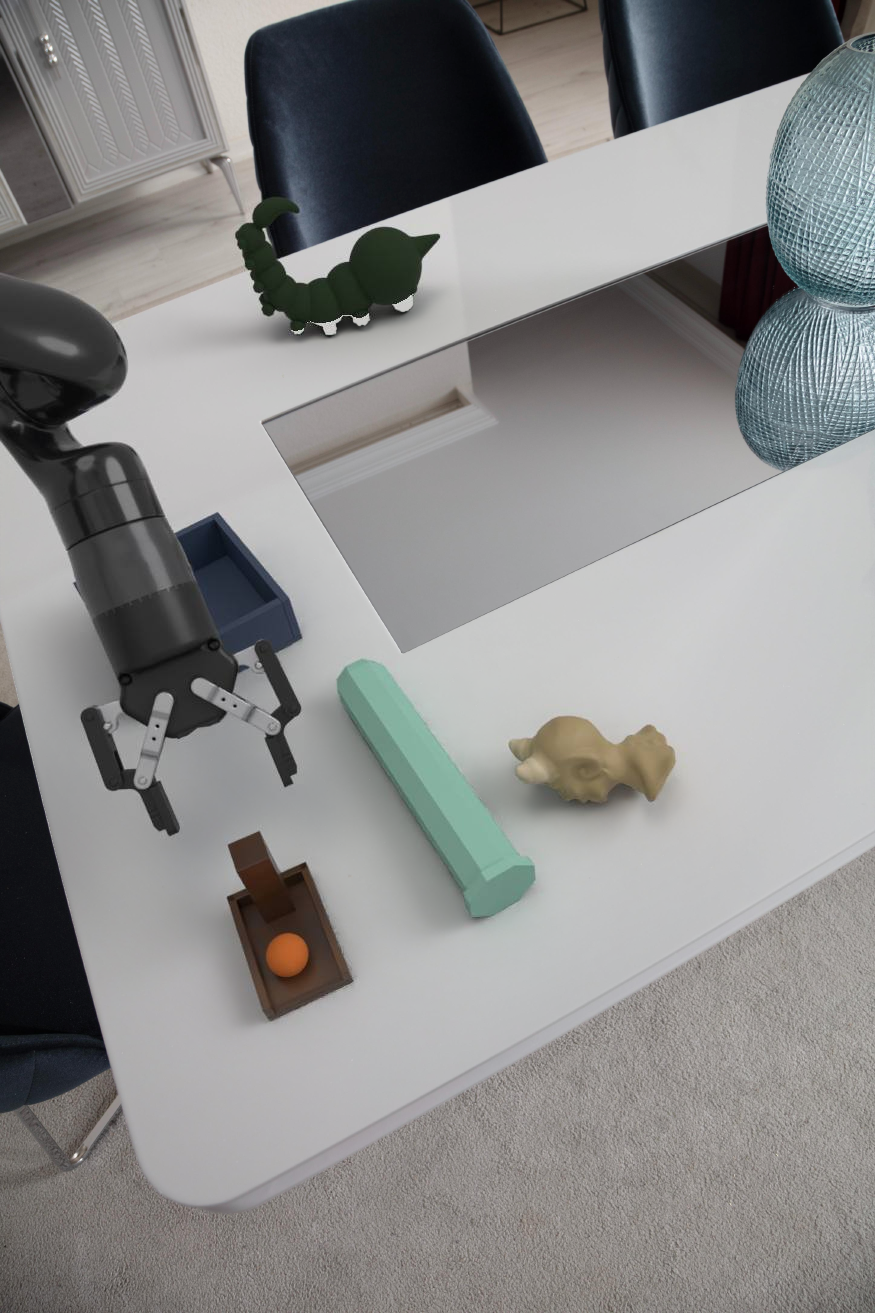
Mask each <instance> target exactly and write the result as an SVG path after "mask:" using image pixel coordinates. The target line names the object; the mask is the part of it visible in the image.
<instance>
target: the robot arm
mask: <svg viewBox="0 0 875 1313" xmlns="http://www.w3.org/2000/svg"><path fill="white" fill-rule="evenodd" d="M128 361H129V359H128V353H127V350H126V347H125V345H124V342H123V340H122V338H121V336H120V334H119V333H118V331H117V330H116V329H115V327H114V326H113V325H112V323H111V322H110V321H109V320H108V318H106V317H105V316H104V315H103V314H102V313H101V312H100V311H99V310H97V309H96V308H95V307H93V306H92V305H90V304H89V303H88V302H86V301H85V300H83V299H81V298H79V297H77V296H75V295H73V294H71V293H69V292H66V291H63V290H62V289H59V288H56V287H53V286H49V285H45V284H43V283H39V282H35V281H31V280H29V279H24V278H21V277H18V276H13V275H10V274H7V273H4V272H0V443H1V444H2V446H3V447H4V448H5V449H6V450H7V452H8V453H9V454H10V455H11V457H12V458H13V460H14V462H16V464H17V465H18V467H19V468H20V469H21V471H22V472H23V473H24V475H25V476H27V478H28V479H29V480H30V482H31V484H33V486H34V487H35V488H36V490H37V491H38V492H39V494H40V495H41V496H42V498H43V499H44V501H45V503H46V506H47V509H48V512H49V515H51V519H52V522H53V523H54V526H55V528H56V531H57V532H58V533H57V534H58V535H59V537H60V539H61V542H62V545H63V548H64V549H65V551H66V552H67V556H68V560H69V562H70V566H71V569H72V572H73V576H74V579H75V582H76V584H77V586H78V589H79V591H80V594H81V596H82V598H83V600H82V601H84V602H83V603H84V605H85V608H86V609H87V610H86V611H87V612H88V614H89V617H90V620H91V622H92V624H93V626H94V629H95V631H96V634H97V636H98V638H99V640H100V643H101V645H102V647H103V650H104V652H105V655H106V656H107V659H108V662H109V663H110V666H111V668H112V670H113V673H114V675H115V677H116V680H117V682H118V685H119V699H116V700H113V701H110V702H108V703H103V704H101V705H97V704H96V705H91V706H88V707H86V708H85V709H83V710H82V711H81V713H80V716H79V717H80V722H81V724H82V728H83V730H84V732H85V735H86V738H87V740H88V743H89V746H90V749H91V752H92V754H93V757H94V760H95V763H96V766H97V768H98V771H99V774H100V776H101V779H102V782H103V784H104V787H105V788H106V789H107V790H108V791H109V792H116V791H121V790H133V791H135V792H137V793H138V794H139V796H140V798H141V800H142V803H143V805H144V807H145V811H146V812H147V814H148V816H149V819H150V821H151V823H152V826H153V828H155V829H156V830H157V831H158V832H159V833H160V832H162V831H164V830H165V831H166V833H167V836H168V837H172V836H174V835H176V834H179V833H180V831H181V826H180V823H179V820H178V818H177V815H176V813H175V811H174V809H173V807H172V804H171V801H170V799H169V797H168V795H167V793H166V790H165V788H164V786H163V784H162V781H161V780H157V778H156V773H157V770H158V766H159V763H160V759H161V755H162V752H163V749H164V745H165V741H166V739H167V738H168V739H174V740H175V739H177V740H180V739H183V738H185V737H187V736H189V735H191V734H192V733H193V732H195V731H196V730H197V729H200V728H207V727H211V726H212V727H213V726H214V725H217V724H219V723H221V721H222V720H223V719H225V717H226V716H227V714H228V713H229V714H230V715H232V716H234V717H236V718H237V719H239V720H241V721H242V722H245V723H247V724H249V725H251V726H252V727H254V728H256V729H257V730H260V731H261V732H263V733H264V735H265V736H264V737H263V738H264V742H265V744H266V746H267V749H268V751H269V754H270V756H271V759H272V761H273V764H274V765H275V768H276V770H277V773H278V775H279V778H280V780H281V782H282V785H283V788H287V787H289V786H292V785H294V781H293V778H292V776H295V775H297V774H298V764H297V762H296V760H295V757H294V755H293V753H292V751H291V750H292V749H291V747H290V745H289V743H288V740H287V738H286V736H285V729H286V727H287V725H288V724H289V723H290V722H292V720H293V719H295V718H297V717H298V716H300V714H301V712H302V706H301V703H300V701H299V699H298V697H297V695H296V694H295V691H294V689H293V686H292V685H291V683H290V681H289V678H288V677H287V674H286V672H285V670H284V669H283V666H282V664H281V662H280V659H279V658H278V656H277V654H276V653H275V652H274V649H273V647H272V645H271V644H270V642H268V641H267V640H264V639H261V640H258V641H257V642H256V643H255V644H254V645H252V646H250V647H248V648H246V649H244V650H242V651H239V652H237V653H235V654H232V653H230V652H229V651H228V650H227V649H226V648H225V647H224V645H223V643H222V641H221V639H220V636H219V634H218V631H217V629H216V627H215V624H214V622H213V619H212V617H211V614H210V612H209V610H208V607H207V605H206V602H205V600H204V598H203V595H202V593H201V590H200V589H199V586H198V583H197V581H196V578H195V576H194V571H193V568H192V566H191V564H190V563H189V562H188V559H187V557H186V554H185V552H184V550H183V548H182V546H181V544H180V542H179V540H178V538H177V537H176V535H175V533H176V532H174V529H173V528H172V526H171V524H170V522H169V520H168V519H167V517H166V514H165V512H164V509H163V507H162V505H161V502H160V500H159V498H158V494H157V492H156V490H155V488H154V485H153V482H152V480H151V477H150V475H149V473H148V470H147V468H146V467H145V464H144V462H143V460H142V458H141V456H140V455H139V453H138V452H137V451H136V450H135V448H133V447H132V446H131V445H129V444H128V443H124V442H120V441H105V442H97V443H93V444H88V445H83V444H82V443H81V442H80V441H79V440H78V439H77V438H76V436H75V435H74V434H73V432H72V431H71V428H70V426H69V422H71V421H72V420H75V419H76V418H79V417H80V416H82V415H84V414H85V413H89V412H90V411H91V410H93V409H95V408H97V407H99V406H101V405H103V404H104V403H106V402H108V401H109V400H111V399H112V398H113V397H115V396H116V395H117V394H118V393H119V392H120V390H121V389H122V388H123V386H124V385H125V383H126V380H127V377H128V371H129V362H128ZM81 596H80V597H81ZM82 598H81V599H82ZM240 665H246V666H248V667H249V670H251V672H253V673H254V674H257V675H260V674H263V673H265V675H266V678H267V680H268V681H269V684H270V686H271V688H272V690H273V692H274V694H275V696H276V698H277V700H278V702H279V706H278V707H277V708H275V710H273V711H272V712H271V713H270V712H268V711H266V710H265V709H264V708H261V707H259V706H258V705H256V704H254V703H253V702H251V701H249V700H248V699H246V698H244V697H243V696H241V695H239V694H237V693H235V692H234V690H235V687H236V682H237V678H238V674H239V673H238V671H239V666H240ZM122 713H124V714H125V715H126V716H128V717H129V718H131V719H133V720H134V721H136V722H138V723H140V724H141V725H143V726H145V727H146V732H145V736H144V738H143V742H142V746H141V749H140V753H139V754H140V755H139V757H138V758H139V759H138V762H137V765H136V768H125V767H124V764H123V762H122V759H121V755H120V753H119V751H118V747H117V745H116V742H115V739H114V736H113V733H115V732H116V731H117V730H118V729H119V725H120V723H119V718H120V715H121V714H122Z"/></svg>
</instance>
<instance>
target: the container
mask: <svg viewBox="0 0 875 1313" xmlns="http://www.w3.org/2000/svg"><path fill="white" fill-rule="evenodd" d="M336 689H337V690H336V691H337V693H338V695H339V699H340V702H341V704H342V705H343V707H344V708H345V710H346V712H347V713H348V715H349V716H350V719H352V721H353V722H354V724H355V726H356V728H357V729H358V730H359V733H360V734H361V735H362V737H363V738H364V740H365V741H366V743H367V744H368V746H369V747H370V749H371V751H372V752H373V754H374V756H375V757H376V758H377V760H378V761H379V763H380V765H381V766H382V767H383V769H384V771H385V773H386V774H387V776H389V778H390V780H391V782H392V783H393V785H394V786H395V788H396V790H397V791H398V793H399V794H400V796H401V798H402V799H403V800H404V802H405V803H406V805H407V806H408V808H409V810H410V811H411V813H412V815H413V816H414V817H415V819H416V821H417V823H418V824H419V825H420V827H421V829H422V830H423V831H424V833H425V835H426V836H427V838H428V839H429V841H430V842H431V844H432V845H433V847H434V849H435V850H436V852H437V853H438V855H439V856H440V858H441V859H442V861H443V862H444V865H445V866H446V867H447V869H448V870H449V872H450V874H451V875H452V876H453V878H454V880H455V882H456V883H457V884H458V886H459V888H460V889H461V890H462V893H463V898H464V903H465V907H466V910H467V912H468V913H469V914H470V916H471V917H472V918H476V917H477V918H480V917H492V916H495V915H496V914H498V913H500V912H501V911H503V910H504V909H506V908H509V907H510V906H511V905H513V904H515V903H516V902H519V900H520V899H521V898H522V897H523V896H524V895H525V893H527V891H528V890H529V888H530V887H531V886H532V885H533V884H534V883H535V882H536V868H535V867H536V866H535V864H534V862H533V861H532V860H531V858H530V857H529V856H528V855H527V856H525V855H523V856H522V855H520V854H519V853H518V851H517V849H516V848H515V846H514V845H513V844H512V842H511V840H509V838H508V836H507V835H506V834H505V832H504V831H503V830H502V828H501V827H500V826H499V824H498V822H497V821H496V820H495V818H494V817H493V816H492V814H491V813H490V812H489V810H488V809H487V807H486V806H485V805H484V803H483V802H482V800H481V798H479V796H478V795H477V793H476V792H475V791H474V789H473V787H472V786H471V785H470V784H469V782H468V781H467V779H466V778H465V776H464V775H463V773H462V772H461V771H460V769H459V768H458V766H457V765H456V763H454V761H453V759H452V758H451V757H450V756H449V754H448V753H447V750H445V748H444V747H443V745H442V744H441V743H440V741H439V740H438V739H437V737H436V735H434V732H432V730H431V729H430V728H429V726H428V724H427V723H426V722H425V720H424V719H423V717H422V716H421V715H420V713H419V711H418V710H417V708H416V707H415V706H414V705H413V703H412V702H411V701H410V698H408V696H407V695H406V694H405V692H404V691H403V690H402V688H401V687H400V685H399V684H398V683H397V681H396V680H395V678H394V677H393V676H392V674H391V673H390V671H389V670H388V669H387V667H386V666H385V664H382V663H380V662H378V661H375V660H371V659H366V658H359V659H357V660H356V661H353V662H351V663H349V664H348V665H345V666H344V667H343V669H342V671H341V672H340V674H339V676H338V677H337V679H336Z"/></svg>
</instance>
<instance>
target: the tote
mask: <svg viewBox="0 0 875 1313" xmlns="http://www.w3.org/2000/svg"><path fill="white" fill-rule="evenodd" d="M174 533H175V535H176V537H177V538H178V540H179V542H180V544H181V546H182V548H183V550H184V552H185V554H186V557H187V559H188V562H189V563H190V564H191V566H192V568H193V571H194V576H195V578H196V581H197V583H198V586H199V589H200V590H201V593H202V595H203V598H204V600H205V602H206V605H207V607H208V610H209V612H210V614H211V617H212V619H213V622H214V624H215V627H216V629H217V631H218V634H219V636H220V639H221V641H222V643H223V645H224V647H225V648H226V649H227V650H228V651H229V652H230V653H232V654H235V653H237V652H239V651H242V650H244V649H246V648H248V647H250V646H252V645H254V644H255V643H256V642H257V641H258V640H261V639H264V640H267V641H268V642H270V644H271V645H272V647H273V649H274V652H275V654H276V653H278V652H280V651H282V650H284V649H285V648H287V647H288V646H290V645H292V644H294V643H296V642H298V641H299V640H302V639H303V636H302V633H301V629H300V627H299V626H300V625H299V623H298V621H297V617H296V613H295V611H294V607H293V605H292V602H291V599H290V597H289V596H288V594H286V592H285V591H284V590H283V589H282V587H281V586H280V585H279V584H278V582H277V581H276V580H275V579H274V577H272V575H271V574H270V573H269V572H268V571H267V569H266V568H265V567H264V565H263V564H262V563H261V562H260V560H258V558H257V557H256V556H255V555H254V553H253V552H252V551H251V550H250V549H249V547H248V546H247V545H246V544H245V543H244V541H242V539H241V538H240V537H239V535H238V534H237V533H236V532H235V531H234V529H233V528H232V527H231V526H230V525H229V523H228V522H227V521H226V520H225V518H223V516H222V515H221V514H220V513H219V511H217V512H215V513H212V514H210V515H209V516H206V517H205V518H202V519H200V520H198V521H196V522H194V523H192V524H190V525H188V526H186V527H184V528H182V529H180V530H178V531H175V532H174ZM72 584H73V586H74V588H75V590H76V591H77V593H78V595H79V596H80V598H81V600H82V601H83V598H82V596H81V594H80V591H79V589H78V586H77V584H76V581H73V582H72ZM83 603H84V601H83ZM248 669H250V667H248V666H246V665H240V666H239V671H238V674H240V673H242V672H243V671H245V670H248Z"/></svg>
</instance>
